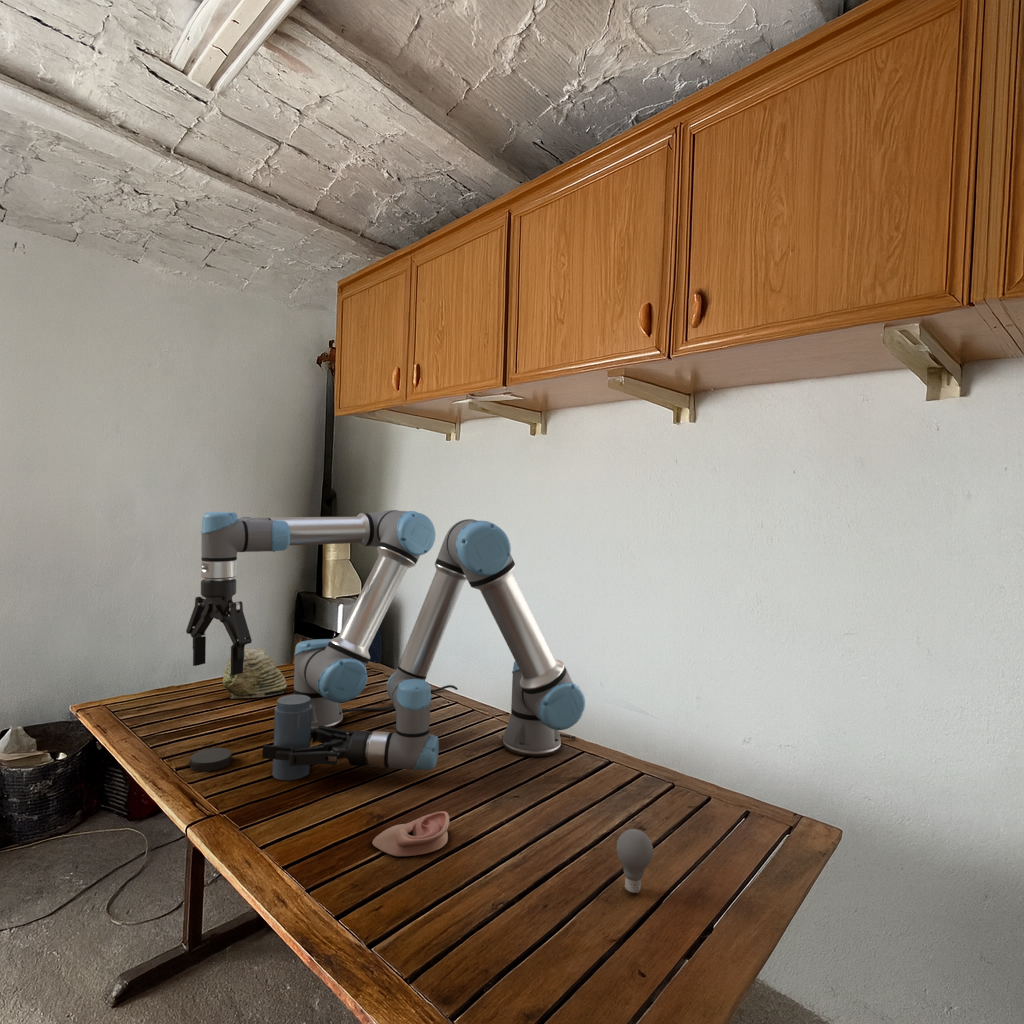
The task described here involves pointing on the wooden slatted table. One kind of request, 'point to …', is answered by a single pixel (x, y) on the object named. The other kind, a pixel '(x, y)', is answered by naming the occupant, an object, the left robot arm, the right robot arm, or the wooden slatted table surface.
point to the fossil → (254, 676)
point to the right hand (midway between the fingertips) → (274, 742)
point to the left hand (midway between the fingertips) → (217, 669)
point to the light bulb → (634, 857)
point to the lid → (210, 759)
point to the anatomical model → (415, 836)
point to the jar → (292, 733)
